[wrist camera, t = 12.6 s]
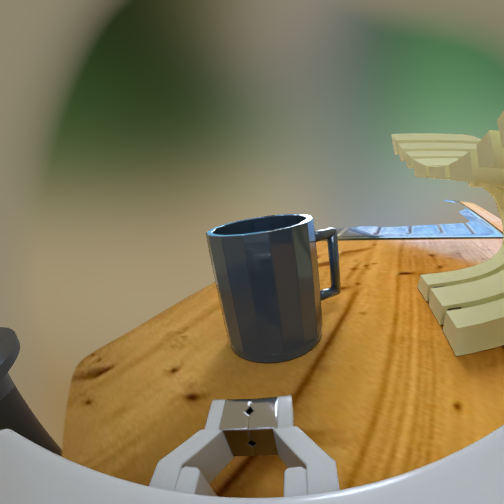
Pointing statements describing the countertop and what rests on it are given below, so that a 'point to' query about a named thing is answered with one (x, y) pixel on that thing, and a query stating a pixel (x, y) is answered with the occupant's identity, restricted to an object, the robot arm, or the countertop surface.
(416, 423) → the countertop surface
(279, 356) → the mug
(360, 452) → the countertop surface
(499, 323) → the slatted lounge chair
